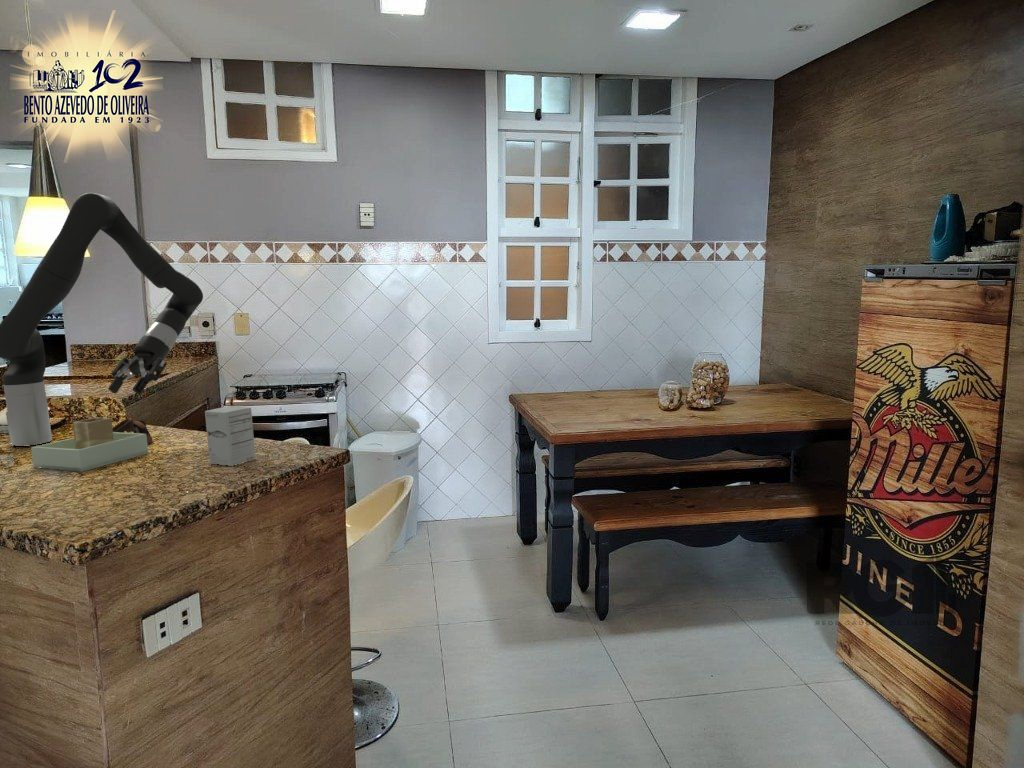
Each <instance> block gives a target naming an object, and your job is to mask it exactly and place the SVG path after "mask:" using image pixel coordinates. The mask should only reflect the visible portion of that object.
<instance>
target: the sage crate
mask: <svg viewBox="0 0 1024 768" xmlns="http://www.w3.org/2000/svg"><path fill="white" fill-rule="evenodd" d="M113 437H114V441H112V442H108V443H104V444H99V445H95V446H91V447H87V448H83V449H76V446H75V438H74V437H71V438H67V439H66V438H65V439H63V440H57V441H54V442H53V441H52V442H50V443H46V444H42V445H36V446H30V449H31V450H30V451H31V457H32V464H33V468H34V467H41V468H49V469H48V470H53V469H59V470H58V471H66V470H68V472H70V471H71V472H86V471H89V470H90V471H91V470H93V469H97V468H100V467H104V466H108V465H111V464H115V463H117V462H122V461H125V460H129V459H132V458H136V457H140V456H144V455H146V454H147V455H148V454H149V444H147V436H146V434H140V433H134V432H124V433H119V432H113Z"/></svg>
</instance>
